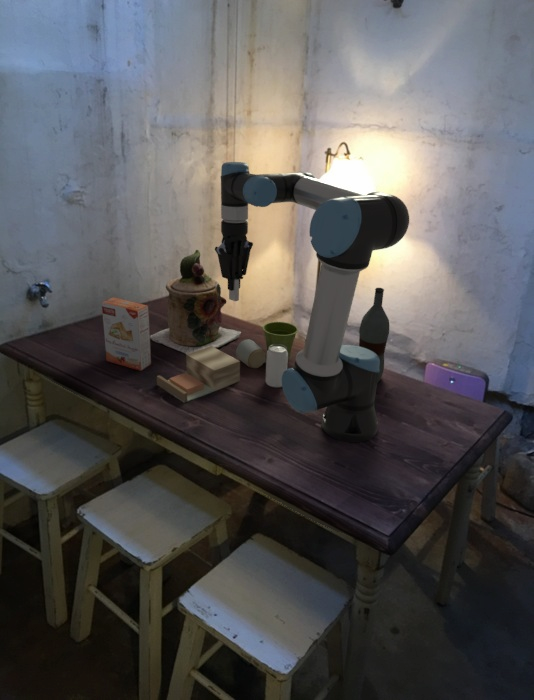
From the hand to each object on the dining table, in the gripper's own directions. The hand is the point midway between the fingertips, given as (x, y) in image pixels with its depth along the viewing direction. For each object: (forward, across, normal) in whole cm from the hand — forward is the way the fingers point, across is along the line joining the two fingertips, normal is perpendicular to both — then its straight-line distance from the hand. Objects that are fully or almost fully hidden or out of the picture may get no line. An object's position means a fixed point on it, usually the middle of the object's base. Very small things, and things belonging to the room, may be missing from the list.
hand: (233, 299), depth 170 cm
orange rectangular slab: (+23, +15, -4) cm, 28 cm away
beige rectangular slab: (+26, +5, -4) cm, 26 cm away
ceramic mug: (+26, -12, -3) cm, 29 cm away
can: (+26, -7, +12) cm, 30 cm away
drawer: (+26, +16, -4) cm, 30 cm away
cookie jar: (+26, -10, -31) cm, 41 cm away
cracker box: (+26, +20, -29) cm, 43 cm away
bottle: (+26, -33, +28) cm, 51 cm away
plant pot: (+26, -21, 0) cm, 33 cm away
